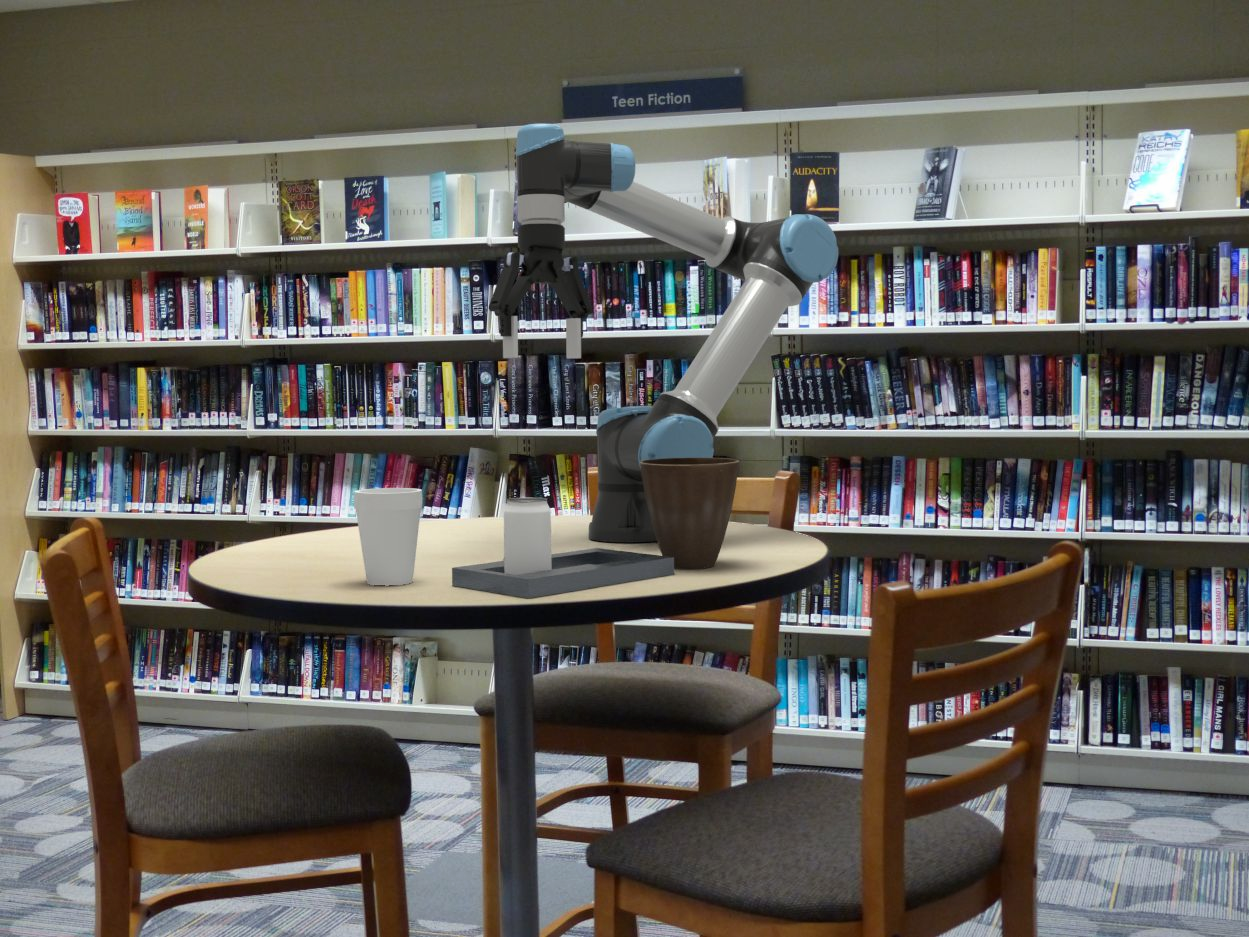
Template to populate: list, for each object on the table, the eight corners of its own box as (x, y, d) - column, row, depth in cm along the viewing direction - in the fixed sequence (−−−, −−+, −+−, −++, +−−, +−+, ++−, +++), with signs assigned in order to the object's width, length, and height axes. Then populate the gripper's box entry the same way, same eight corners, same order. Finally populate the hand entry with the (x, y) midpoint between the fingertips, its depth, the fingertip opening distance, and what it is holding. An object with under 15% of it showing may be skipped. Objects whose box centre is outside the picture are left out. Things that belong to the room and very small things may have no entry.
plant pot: (735, 573, 191) (734, 463, 190) (633, 572, 194) (632, 463, 193) (743, 559, 206) (742, 457, 205) (648, 558, 209) (647, 457, 207)
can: (557, 587, 180) (556, 500, 179) (512, 590, 178) (511, 502, 177) (543, 581, 186) (542, 496, 185) (499, 584, 184) (497, 498, 183)
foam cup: (358, 589, 180) (356, 494, 180) (352, 579, 189) (350, 489, 188) (428, 585, 183) (426, 492, 182) (419, 576, 192) (417, 487, 191)
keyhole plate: (597, 564, 203) (596, 547, 202) (674, 574, 191) (674, 557, 191) (452, 585, 183) (451, 567, 183) (528, 598, 172) (528, 579, 171)
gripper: (581, 232, 222) (582, 358, 223) (464, 220, 204) (467, 358, 205) (613, 228, 217) (614, 358, 218) (496, 215, 199) (498, 357, 200)
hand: (542, 358), depth 212 cm, fingers open, 13 cm apart
